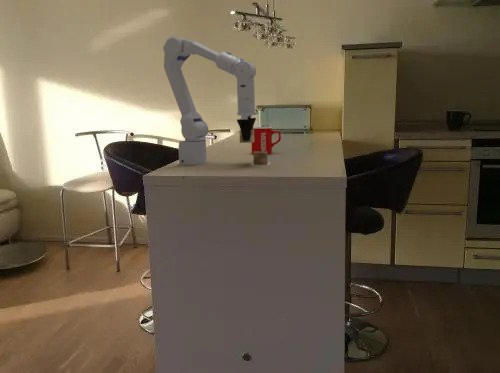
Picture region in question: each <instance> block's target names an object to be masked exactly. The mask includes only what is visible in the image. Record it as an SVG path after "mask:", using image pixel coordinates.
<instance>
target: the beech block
mask: <svg viewBox="0 0 500 373" xmlns="http://www.w3.org/2000/svg"><path fill="white" fill-rule="evenodd" d="M238 131H239V143H240V144H241V143H242V144H243V143H244V144H245V143H246V144H247V143H249V144H252V143H253V142H254V130H251V136H250V141H243V138H242V134H241V129H239V130H238Z"/></svg>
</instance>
